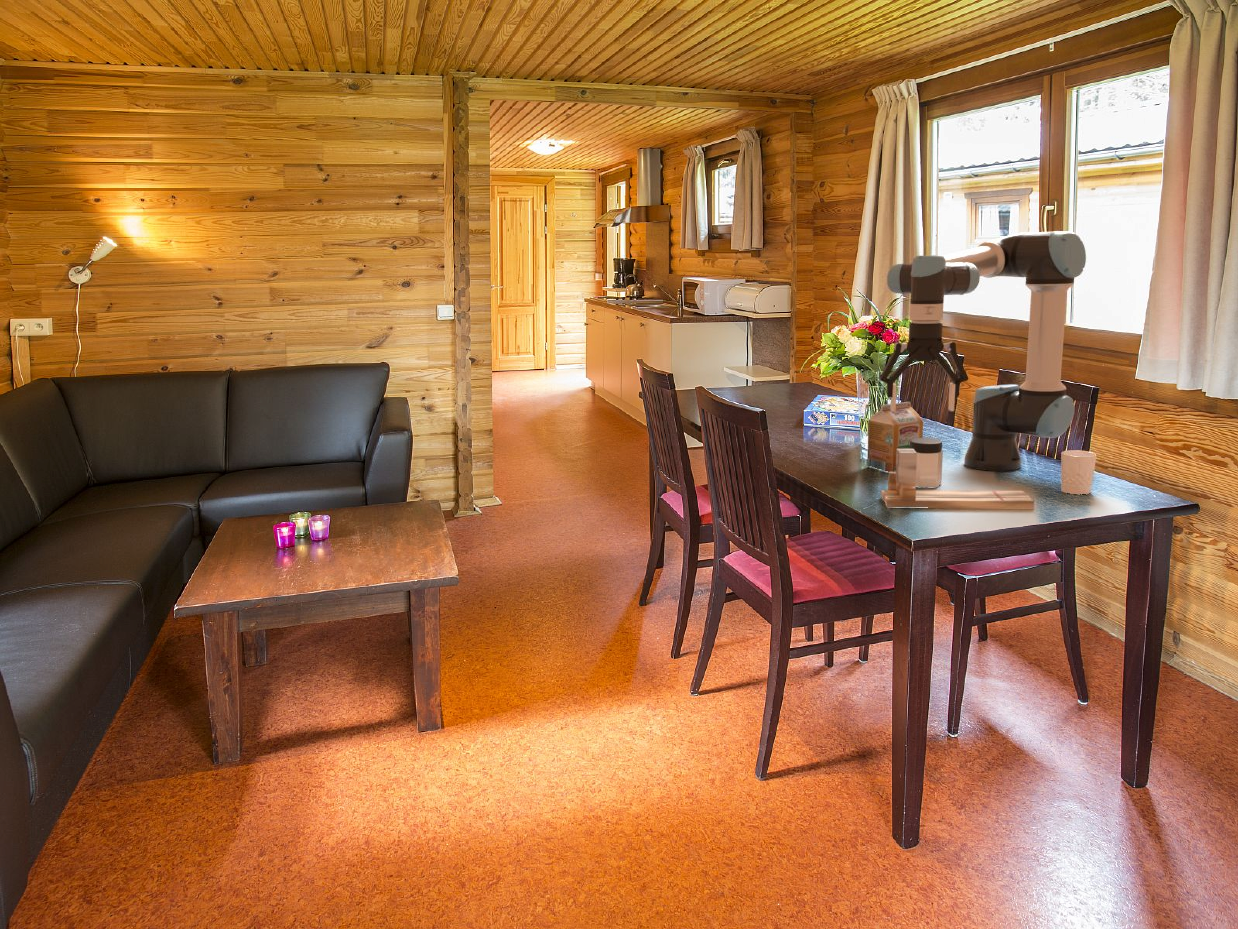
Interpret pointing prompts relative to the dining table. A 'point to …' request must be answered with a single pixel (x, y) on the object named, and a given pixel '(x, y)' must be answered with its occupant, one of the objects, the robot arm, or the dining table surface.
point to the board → (961, 499)
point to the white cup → (1077, 471)
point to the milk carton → (891, 434)
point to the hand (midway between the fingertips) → (921, 410)
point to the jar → (928, 461)
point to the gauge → (904, 474)
